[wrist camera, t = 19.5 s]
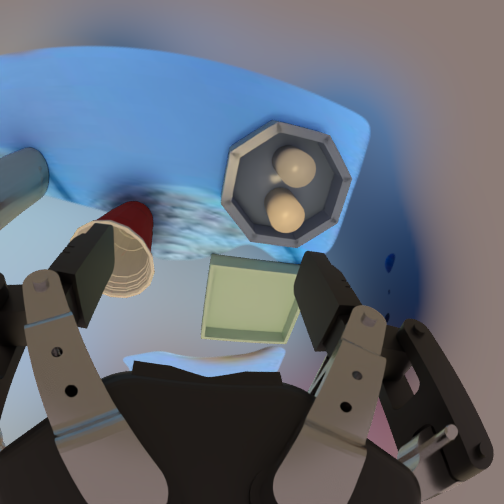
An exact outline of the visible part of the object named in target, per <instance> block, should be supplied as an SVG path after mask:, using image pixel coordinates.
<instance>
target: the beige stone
mask: <svg viewBox="0 0 504 504" xmlns="http://www.w3.org/2000/svg"><path fill="white" fill-rule="evenodd" d="M264 207H265V210H266V212H267V215H268V217H269V220H270V222H271V225H272V226H273V228H274V229H275V230H277V231H279V232H282V233H290V232H293V231H295V230H297V229H298V228H299V227H300V226H301V225H302V223H303V221H304V218H305V213H304V209H303V207H302V206H301V205H300V203H299V202H298V200H297V199H296V198H295V196H294V195H293V194H292V192H291V191H290V190H288V189H286V188H275V189H273V190H271V191H270V192H269V193H268V194H267V195H266V197H265V199H264Z"/></svg>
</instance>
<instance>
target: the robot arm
mask: <svg viewBox="0 0 504 504" xmlns="http://www.w3.org/2000/svg"><path fill="white" fill-rule="evenodd" d="M48 182H49V173H48V167H47V164H46V161H45V159H44V158H43V156H42V155H41V153H40V152H38V151H37V150H36V149H34V148H30V147H29V148H24V149H21V150H19V151H16V152H14V153H11V154H9V155H6V156H4V157H2V158H0V230H1V229H2V228H3V227H5V226H6V225H7V224H8V223H9V222H11V221H12V220H13V219H14V218H16V217H17V216H18V215H19V214H21V213H22V212H23V211H24V210H26V209H27V208H29V207H30V206H31V205H33V204H34V203H35V202H36V201H38V200H39V199H40V198H41V197H43V195H44V194H45V192H46V190H47V187H48ZM114 264H115V253H114V229H113V226H112V225H110V224H102V223H94V224H93V225H92V227H91V228H90V229H89V230H88V231H87V232H86V233H82V234H80V235H78V236H77V237H75V238H73V239H72V240H71V242H70V243H69V244H68V245H67V247H65V249H64V250H63V252H62V253H60V255H59V256H58V257H57V258H56V260H55V261H54V262H53V263H52V265H51V266H50V268H49V269H48V270H46V269H44V270H38V271H35V272H33V273H31V274H30V275H28V276H27V277H26V278H25V280H24V282H23V284H22V285H7V284H6V281H5V278H4V275H3V274H1V273H0V419H1V415H2V411H3V408H4V404H5V401H6V398H7V394H8V391H9V388H10V385H11V383H12V379H13V377H14V374H15V372H16V369H17V366H18V364H19V361H20V359H21V356H22V354H23V352H24V349H25V347H26V346H28V351H29V356H30V359H31V364H32V368H33V372H34V376H35V379H36V382H37V386H38V390H39V393H40V396H41V399H42V402H43V405H44V408H45V411H46V413H47V416H48V417H47V418H45V419H44V420H43V421H41V422H40V423H39V424H37V425H36V426H34V427H33V428H32V429H30V430H29V431H27V432H26V433H25V434H23V435H22V436H21V437H19V438H18V439H16V440H15V441H13V442H12V443H11V444H9V445H8V446H6V447H5V444H4V442H3V438H2V432H1V429H0V504H421V502H422V501H425V500H428V499H430V498H432V497H435V496H437V495H439V494H441V493H443V492H445V491H447V490H449V489H451V488H453V487H455V486H457V485H459V484H461V483H463V482H464V481H466V480H468V479H470V478H472V477H473V476H475V475H477V474H478V473H480V472H482V471H483V470H485V469H486V468H488V467H489V466H490V464H491V463H492V460H493V447H492V444H491V441H490V439H489V437H488V435H487V432H486V430H485V428H484V426H483V424H482V422H481V419H480V417H479V415H478V413H477V411H476V409H475V407H474V406H473V404H472V402H471V400H470V398H469V396H468V394H467V392H466V390H465V388H464V387H463V385H462V383H461V381H460V379H459V378H458V376H457V374H456V372H455V371H454V369H453V367H452V366H451V364H450V362H449V361H448V359H447V357H446V356H445V354H444V353H443V351H442V349H441V348H440V346H439V345H438V343H437V342H436V340H435V338H434V337H433V335H432V334H431V332H430V331H429V329H428V328H427V327H426V326H425V325H424V324H423V323H421V322H419V321H417V320H415V319H406V320H405V321H404V323H403V324H402V326H401V328H397V327H393V326H389V325H386V321H385V319H384V317H383V316H382V315H381V314H380V313H379V312H378V311H376V310H375V309H373V308H371V307H368V306H363V305H362V304H361V303H360V301H359V299H358V298H357V296H356V294H355V293H354V291H353V290H352V288H350V285H349V284H348V282H346V279H345V277H344V276H343V274H342V273H341V272H340V271H339V270H338V269H337V268H336V267H334V266H333V265H331V263H330V261H329V260H328V258H327V257H326V255H325V254H324V253H319V252H312V251H306V252H305V254H304V256H303V259H302V262H301V264H300V267H299V270H298V273H297V276H296V279H295V282H294V296H295V299H296V301H297V304H298V307H299V309H300V312H301V315H302V317H303V320H304V323H305V326H306V328H307V331H308V334H309V337H310V339H311V342H312V345H313V348H314V350H315V351H326V352H327V356H326V358H325V359H324V361H323V364H322V365H321V367H320V369H319V371H318V373H317V375H316V377H315V379H314V381H313V383H312V385H311V387H310V388H309V390H308V392H306V391H304V390H302V389H301V388H298V387H296V386H293V385H290V384H287V383H283V382H282V379H281V375H280V372H240V373H234V374H229V375H222V376H216V377H204V376H201V375H198V374H194V373H191V372H188V371H185V370H182V369H178V368H175V367H172V366H169V365H161V364H154V363H147V362H140V361H134V364H133V369H132V371H125V372H120V373H115V374H112V375H109V376H106V377H104V378H102V379H101V378H100V376H99V374H98V372H97V370H96V368H95V367H94V364H93V362H92V360H91V358H90V355H89V353H88V351H87V349H86V346H85V344H84V342H83V340H82V337H81V335H80V332H79V329H78V327H81V328H87V327H88V324H89V322H90V320H91V318H92V315H93V313H94V311H95V309H96V306H97V304H98V302H99V300H100V298H101V296H102V293H103V291H104V289H105V287H106V285H107V283H108V281H109V279H110V277H111V275H112V273H113V270H114ZM411 366H413V368H414V370H415V372H416V374H417V376H418V378H419V381H420V386H419V390H418V391H417V393H416V394H415V395H414V394H413V392H412V390H411V387H410V385H409V383H408V382H407V379H406V377H405V375H404V374H405V373H406V372H407V371H408V370H409V369H410V367H411ZM378 397H379V399H380V402H381V405H382V407H383V410H384V412H385V415H386V418H387V420H388V423H389V426H390V429H391V432H392V435H393V438H394V440H395V443H396V446H397V449H398V456H397V459H395V458H394V457H393V456H391V455H390V454H388V453H387V452H386V451H384V450H383V449H381V448H380V447H378V446H377V445H376V444H374V443H373V442H372V441H370V440H369V439H368V438H367V435H368V432H369V429H370V426H371V422H372V419H373V415H374V412H375V408H376V405H377V401H378Z"/></svg>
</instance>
